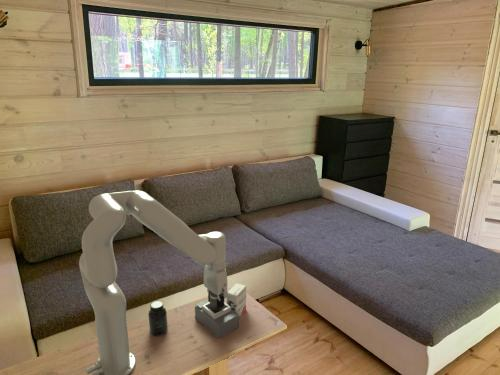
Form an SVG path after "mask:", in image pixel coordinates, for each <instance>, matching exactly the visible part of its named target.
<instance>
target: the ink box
mask: <svg viewBox="0 0 500 375" xmlns="http://www.w3.org/2000/svg"><path fill="white" fill-rule="evenodd" d="M227 292H228V294H229V297H227V298H226V304H228V305H229V306H230V307H231V309H232V310H234V311H235V312H236V313H238V314H239V318H240V316H242V315H243V313H244V312H245V311H246V309H247V285H245V284H241V283H238V282H237V283H235V284H234V285H233V286H232V287H231V288H230V289H229V290H227Z"/></svg>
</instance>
